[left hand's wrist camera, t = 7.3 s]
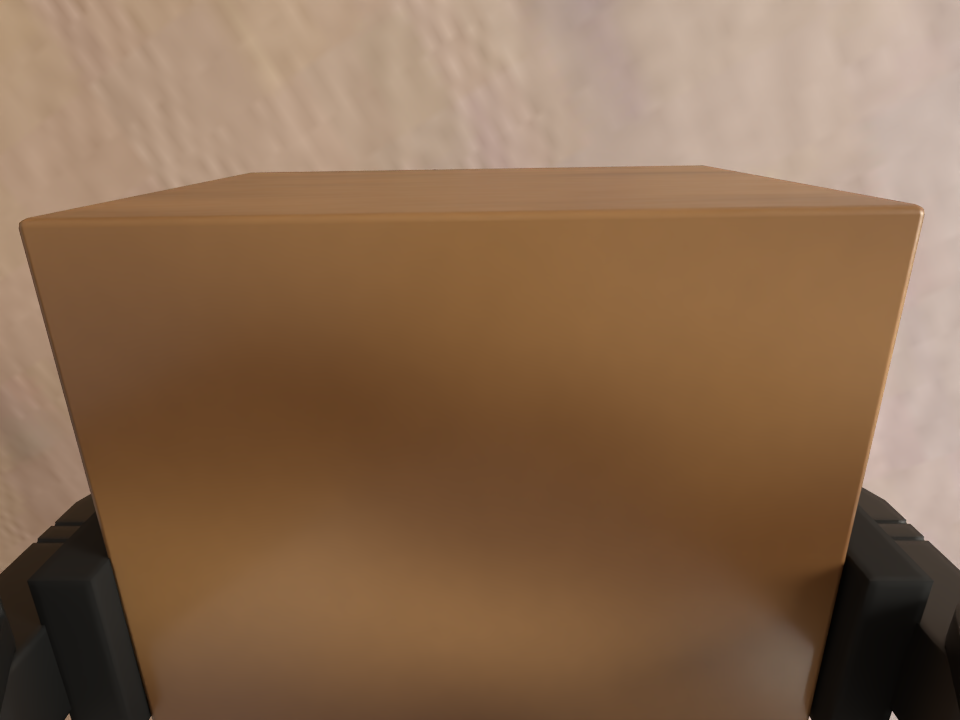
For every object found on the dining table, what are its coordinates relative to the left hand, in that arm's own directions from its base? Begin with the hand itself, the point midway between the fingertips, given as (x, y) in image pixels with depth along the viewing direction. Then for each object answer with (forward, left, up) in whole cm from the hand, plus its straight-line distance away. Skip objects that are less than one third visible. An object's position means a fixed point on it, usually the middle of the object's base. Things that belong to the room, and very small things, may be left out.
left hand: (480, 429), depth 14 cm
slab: (+21, 0, -1) cm, 21 cm away
